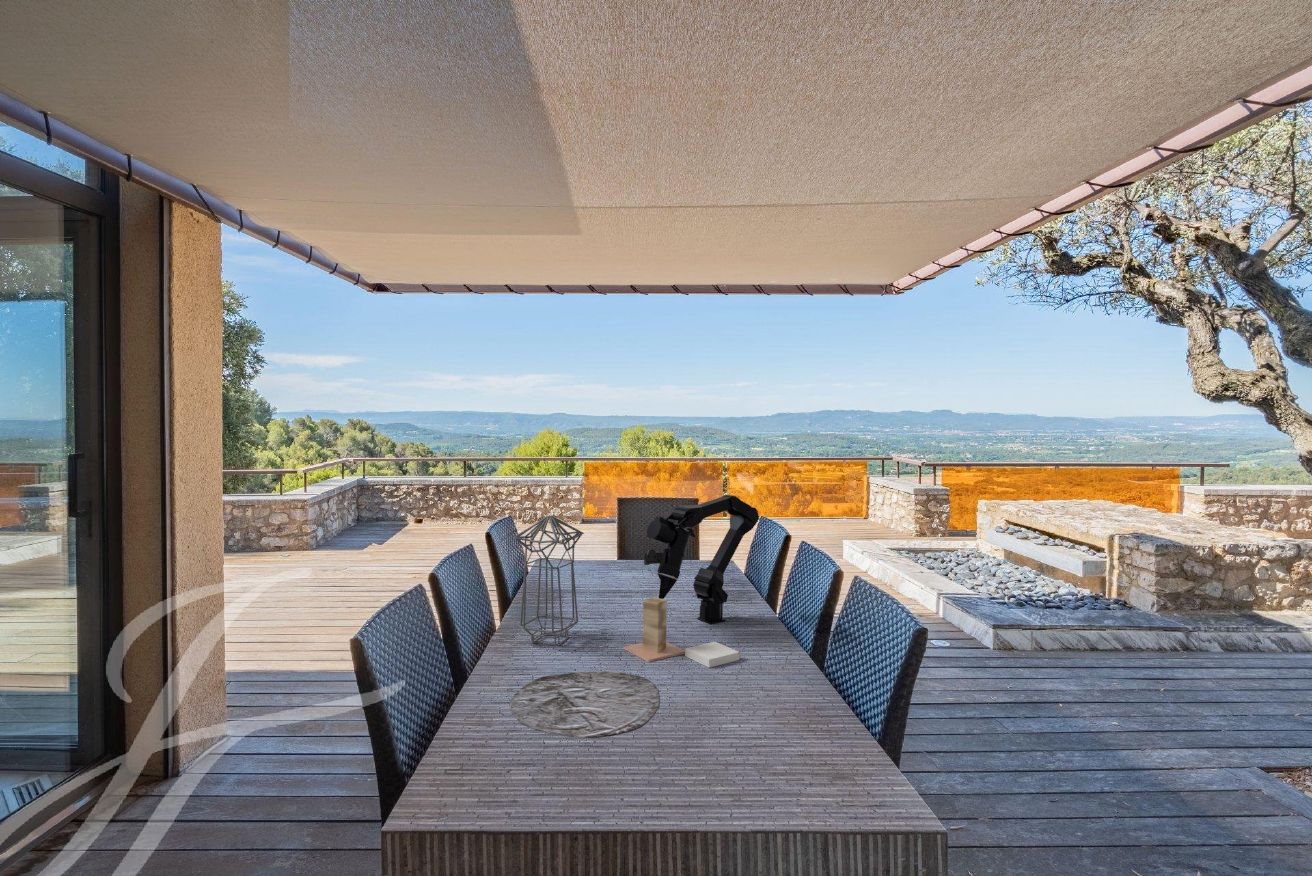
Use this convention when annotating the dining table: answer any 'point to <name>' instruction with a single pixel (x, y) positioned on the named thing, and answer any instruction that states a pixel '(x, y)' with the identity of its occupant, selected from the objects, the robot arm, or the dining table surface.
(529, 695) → the worn metal disc
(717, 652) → the white square tile
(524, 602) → the geometric lantern
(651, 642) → the oak block
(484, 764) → the dining table surface
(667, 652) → the terracotta tile
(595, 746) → the dining table surface
